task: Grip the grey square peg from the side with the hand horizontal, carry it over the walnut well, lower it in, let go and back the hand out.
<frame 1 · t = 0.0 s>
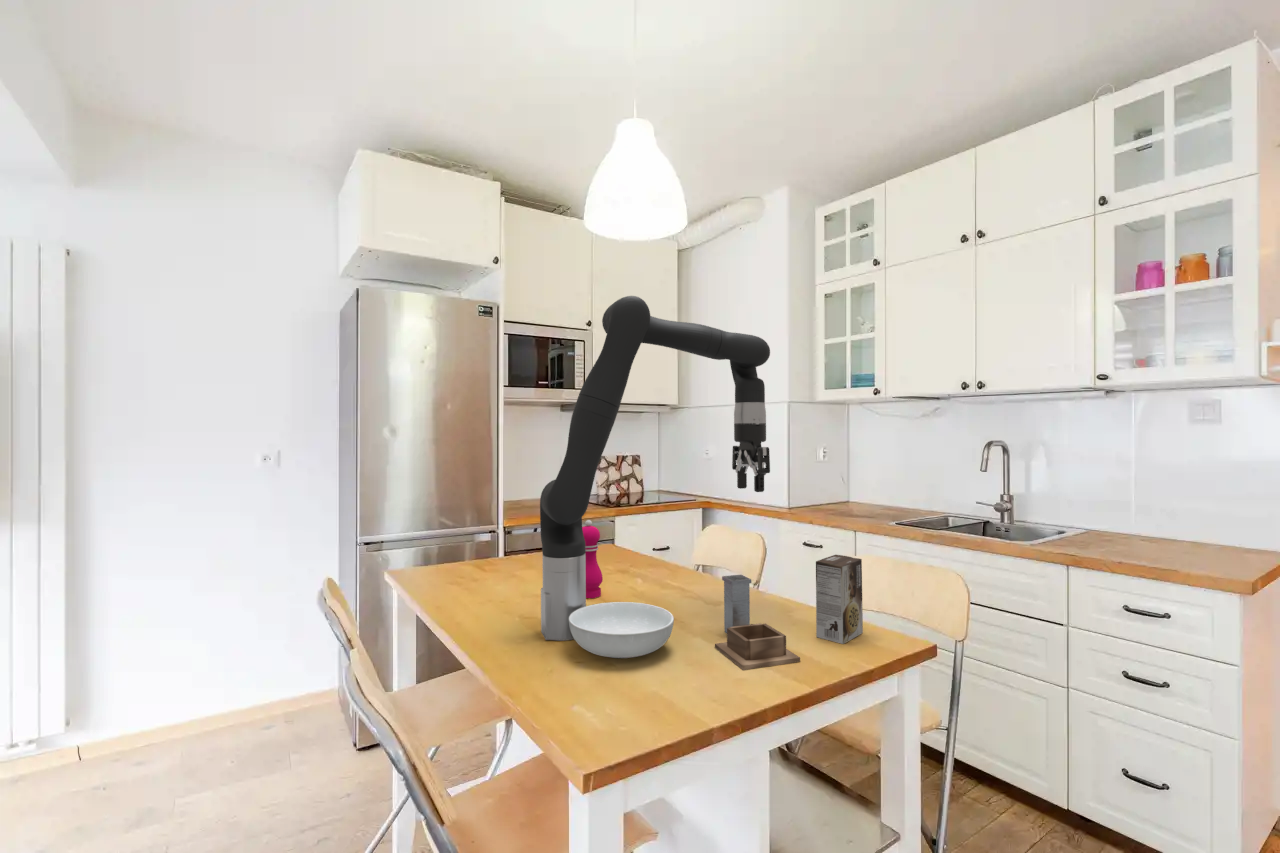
hand: (750, 490, 146), 29 cm above the table, tool pointing down, fingers open, 8 cm apart
grey square peg: (737, 633, 131), on the table
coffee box: (839, 636, 129), on the table
pepper mill: (589, 596, 162), on the table
well: (756, 654, 119), on the table
serving bowl: (621, 651, 122), on the table
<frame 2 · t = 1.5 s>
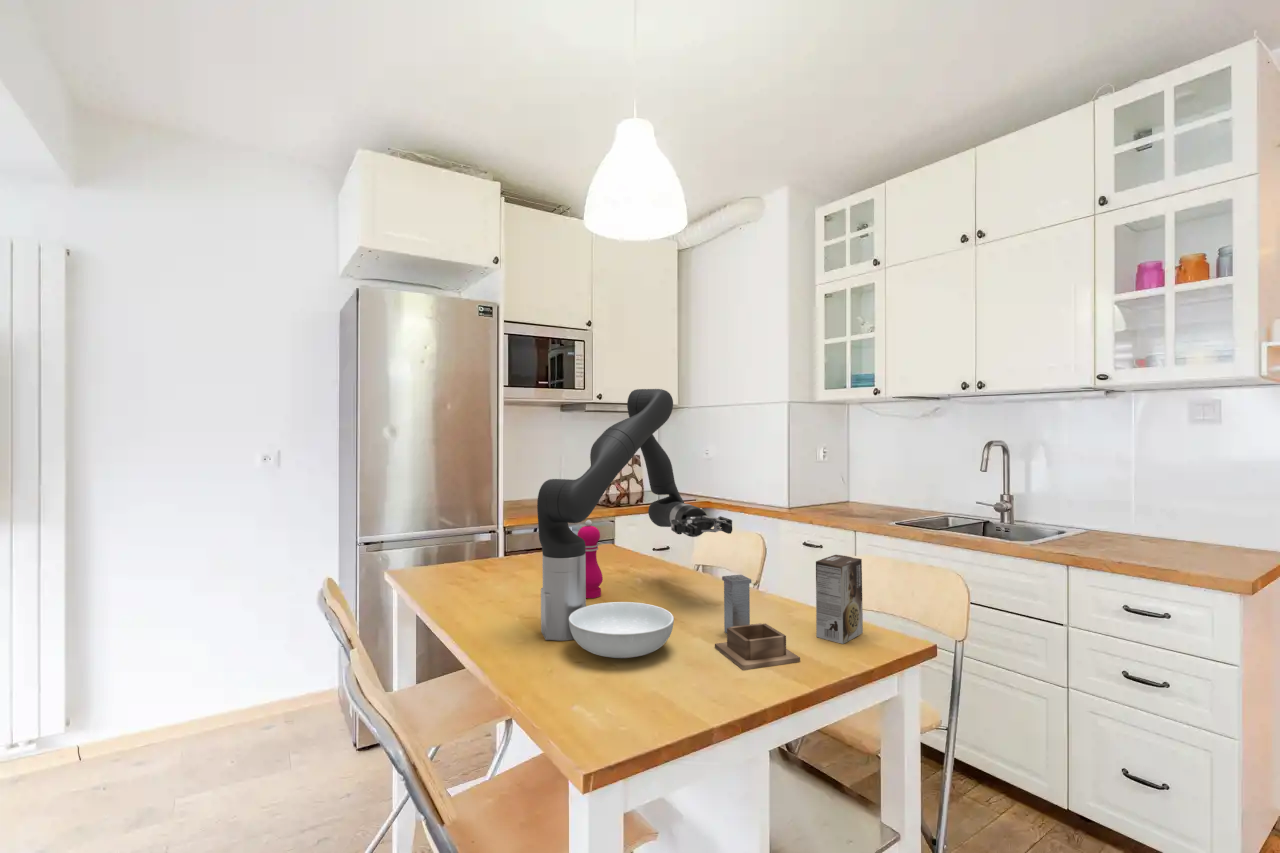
hand: (713, 530, 142), 20 cm above the table, tool horizontal, fingers open, 8 cm apart
nothing on the table moved.
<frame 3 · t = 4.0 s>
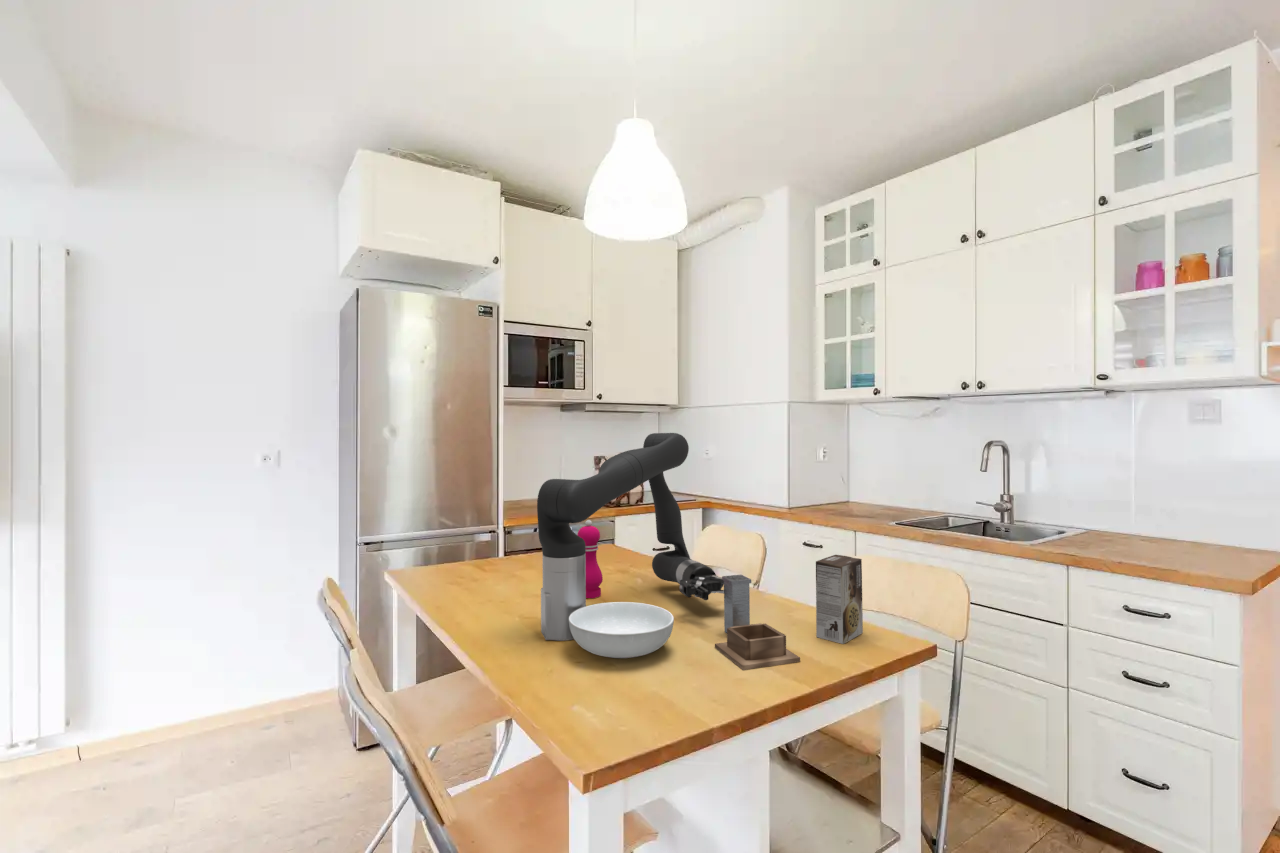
hand: (724, 594, 137), 7 cm above the table, tool horizontal, fingers open, 8 cm apart
nothing on the table moved.
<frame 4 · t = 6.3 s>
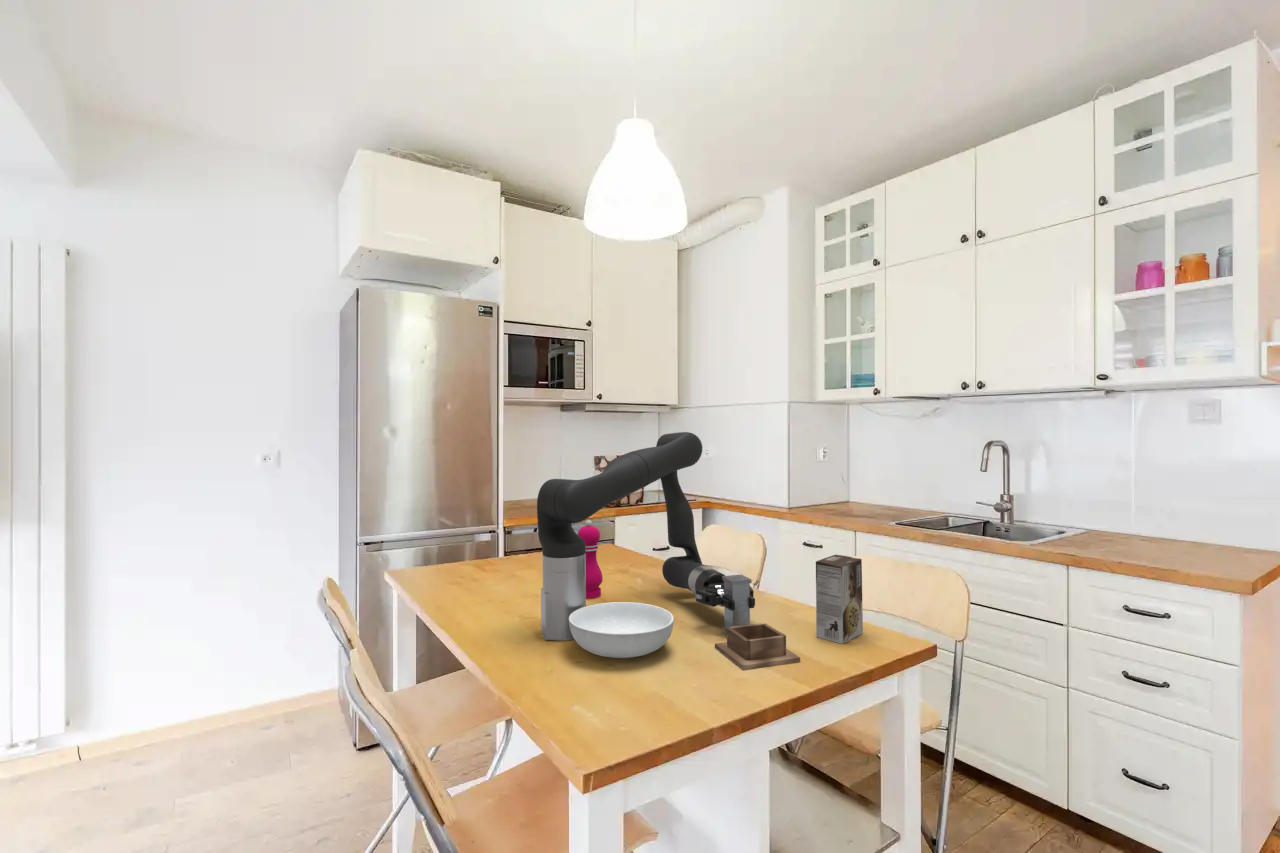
hand: (743, 604, 128), 7 cm above the table, tool horizontal, fingers closed on grey square peg, 4 cm apart
grey square peg: (737, 633, 131), on the table, touching gripper
everything else where it was.
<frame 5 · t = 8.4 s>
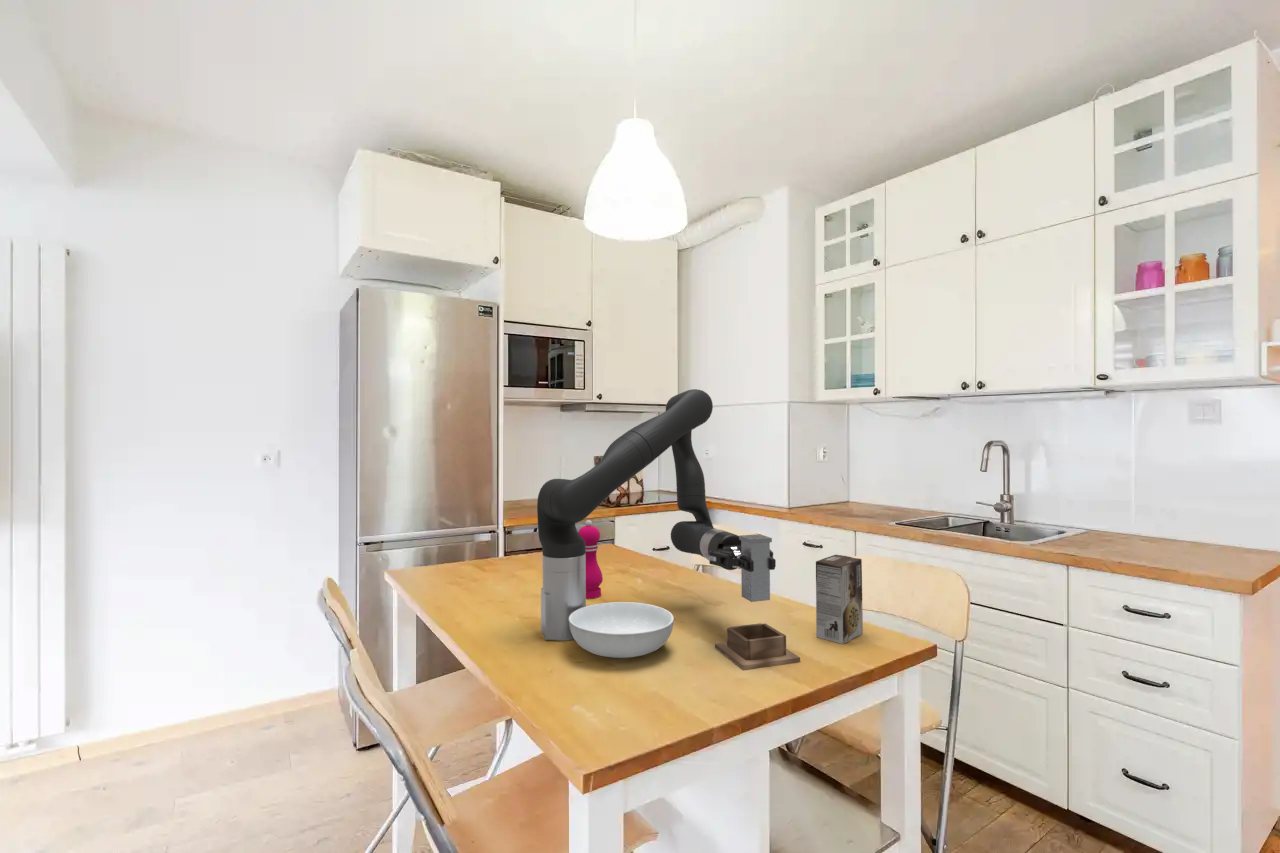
hand: (762, 565, 117), 18 cm above the table, tool horizontal, fingers closed on grey square peg, 4 cm apart
grey square peg: (755, 598, 119), point 11 cm above the table, touching gripper
everything else where it was.
when the fingers open (9 cm above the table, at t = 10.7 s): grey square peg drops 2 cm, resting on well.
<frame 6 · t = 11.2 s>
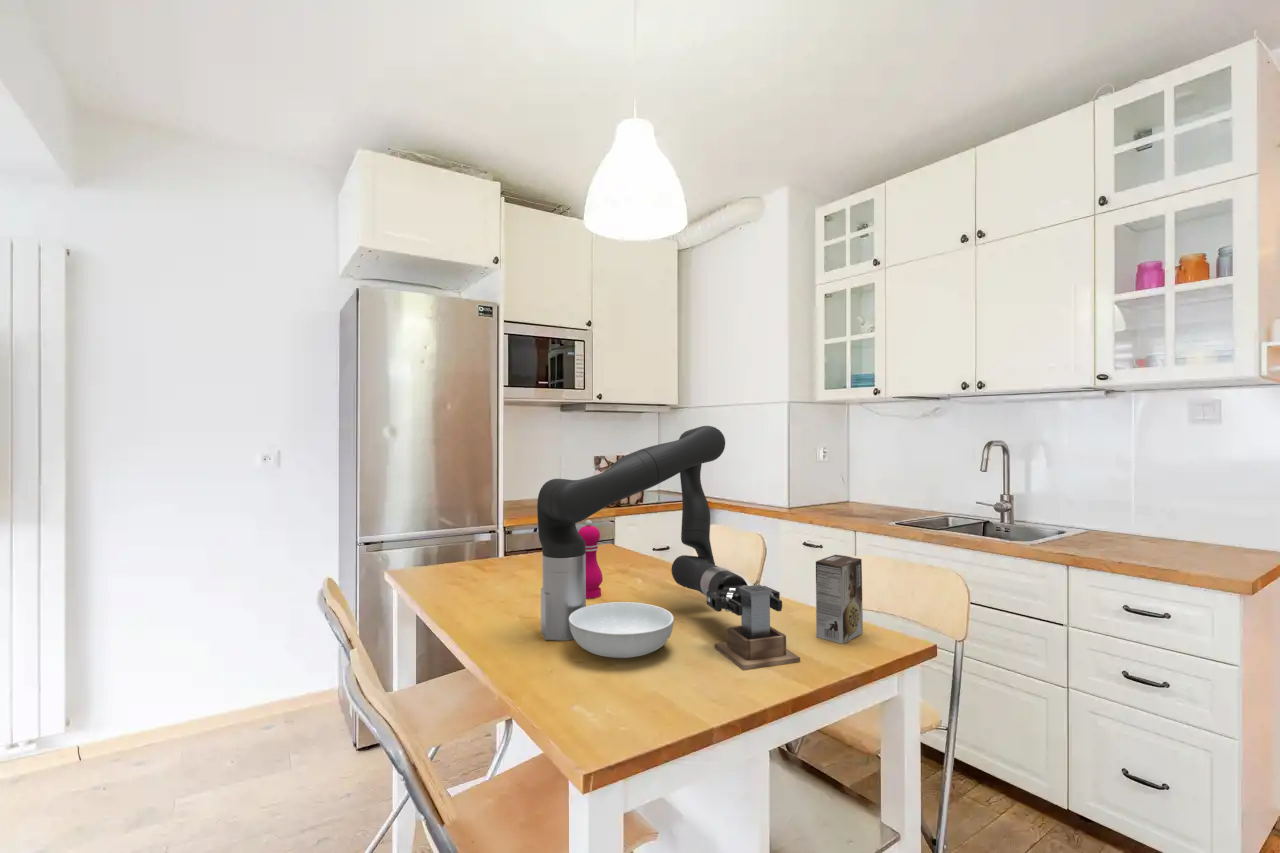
hand: (760, 608, 117), 10 cm above the table, tool horizontal, fingers open, 8 cm apart
grey square peg: (755, 650, 119), point 1 cm above the table, touching well
everything else where it was.
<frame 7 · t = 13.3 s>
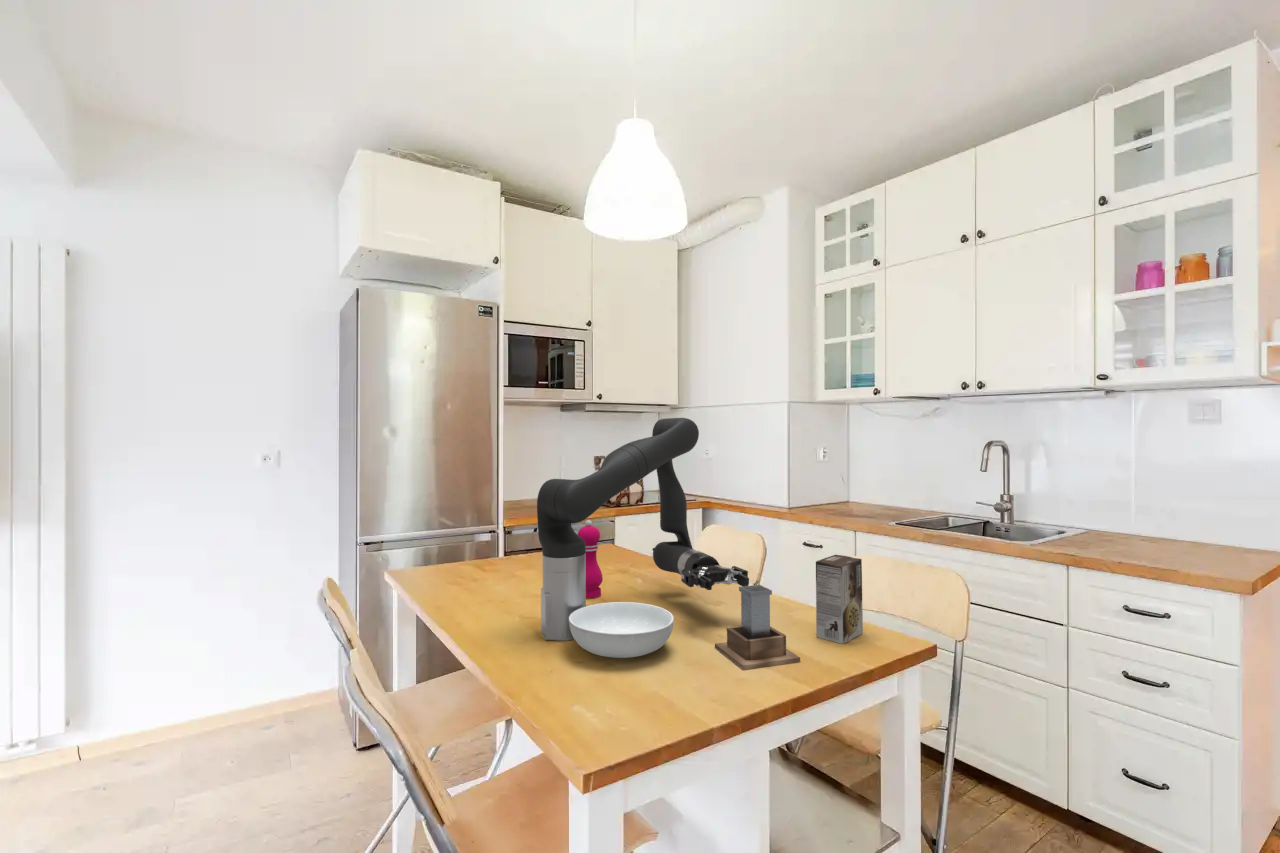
hand: (728, 583, 129), 11 cm above the table, tool horizontal, fingers open, 8 cm apart
nothing on the table moved.
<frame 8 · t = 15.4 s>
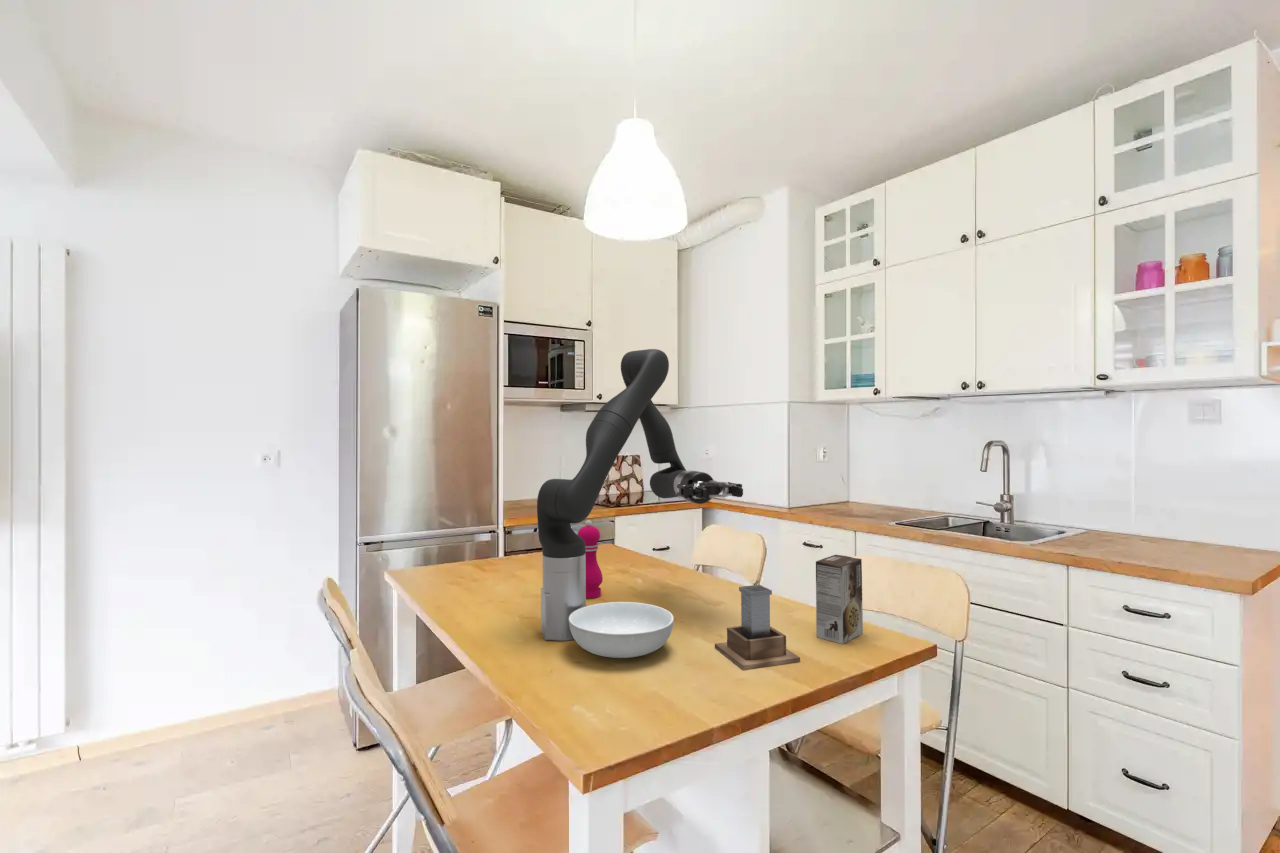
hand: (723, 493, 132), 30 cm above the table, tool horizontal, fingers open, 8 cm apart
nothing on the table moved.
at the end: grey square peg 0.1 cm off-centre on the well, point 0.8 cm above the well's base; grey square peg tilted 0°; the gripper is holding nothing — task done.
